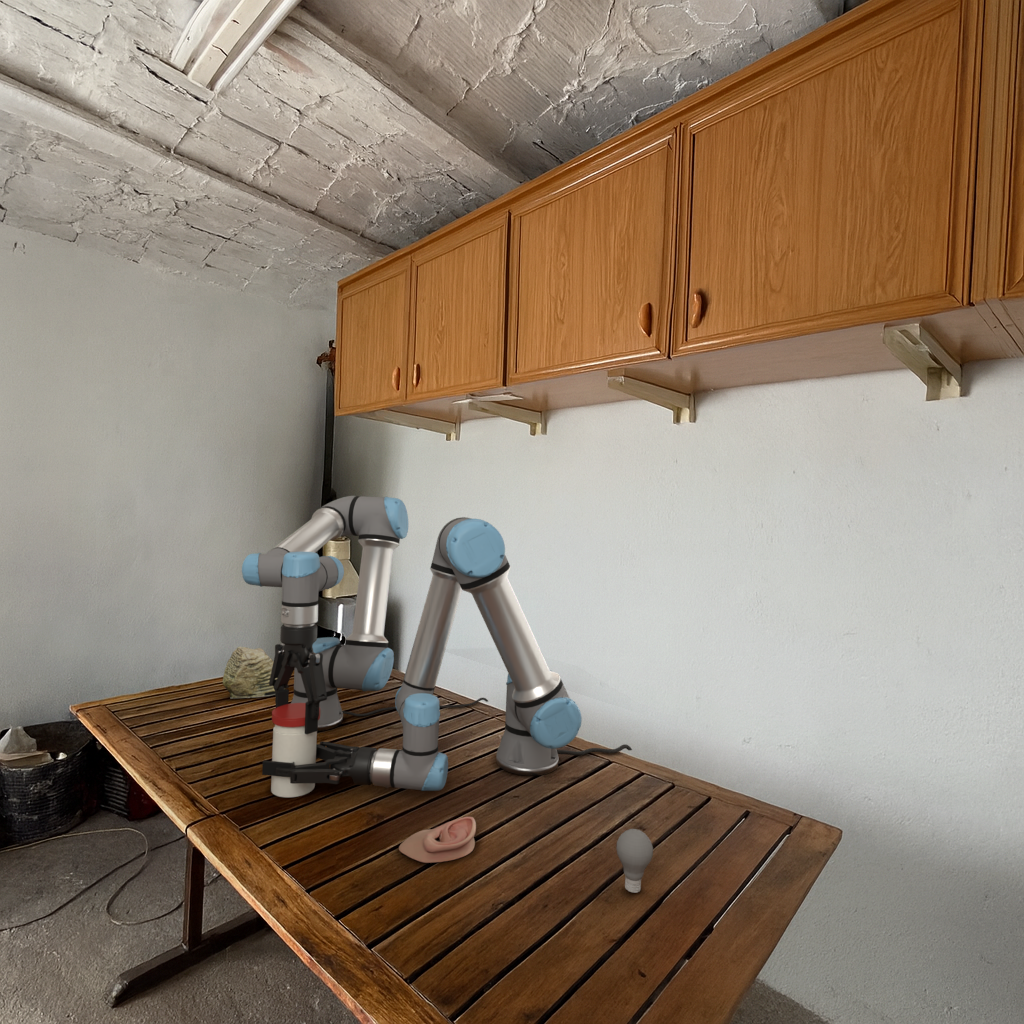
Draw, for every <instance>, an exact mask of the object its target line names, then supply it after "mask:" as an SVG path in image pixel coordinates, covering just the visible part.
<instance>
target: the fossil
mask: <svg viewBox="0 0 1024 1024" xmlns="http://www.w3.org/2000/svg"><path fill="white" fill-rule="evenodd" d="M273 662H274V659H272V658H271V657H270V656H269V655H268V654H267V653H266V652H265V650H264V649H263V648H260V647H258V648H251V647H247V646H246V647H245V646H238V647H237V648H236V649H235V650H233V651H232V653H231V656H230V657H229V659H228V660H227V663H226V666H225V668H224V671H223V675H222V676H223V677H222V685H223V687H224V688H225V690H226V691H228V693H229V698H230V699H250V698H264V697H271V696H275V693H276V691H275V690H274V687H273V686H270V685H269V681H270V676H271V671H272V667H273ZM276 679H277V678H275V680H276ZM285 689H287V688H285ZM285 689H284V690H285Z"/></svg>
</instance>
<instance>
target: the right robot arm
mask: <svg viewBox="0 0 1024 1024" xmlns="http://www.w3.org/2000/svg"><path fill="white" fill-rule="evenodd" d="M431 560H432V561H431V563H430V568H429V569H430V572H431V573H432V576H431V580H430V584H429V587H428V591H427V594H426V598H425V602H424V606H423V608H422V613H421V616H420V620H419V623H418V627H417V630H416V634H415V637H414V641H413V644H412V648H411V652H410V655H409V658H408V662H407V666H406V669H405V673H404V677H403V680H402V684H401V686H400V687H399V688H398V690H397V691H396V694H395V698H394V700H395V701H394V704H395V707H396V709H395V710H396V712H397V713H398V716H399V719H400V722H401V725H402V748H401V749H395V748H382V747H380V748H378V749H377V748H376V747H367V746H361V747H360V746H353V745H352V746H351V745H345V744H341V743H334V742H330V741H329V742H328V741H324V740H321V741H320V742H319V743H317V744H316V760H319V759H320V760H322V762H316V763H313V764H303V765H295V762H292V763H288V762H276V761H272V760H263V761H262V764H261V765H262V766H261V775H262V776H271V777H272V776H282V777H290V783H292V784H297V783H315V784H332V785H338V784H340V779H342V778H349V777H350V778H351V779H352V782H353V783H354V784H355V785H357V786H358V785H359V786H369V787H370V786H372V785H373V786H374V787H382V788H383V787H384V788H385V789H389V788H395V789H406V790H413V791H414V790H415V791H420V792H439V791H441V790H443V789H444V787H445V786H446V783H447V778H448V773H449V756H448V755H447V754H445V753H443V752H440V751H439V733H440V731H439V730H440V717H441V711H440V708H439V706H440V699H439V697H437V696H436V695H434V693H435V688H436V685H437V681H438V677H439V674H440V670H441V666H442V663H443V660H444V656H445V653H446V649H447V646H448V642H449V639H450V634H451V631H452V628H453V624H454V621H455V617H456V613H457V610H458V607H459V603H460V599H461V596H462V592H463V591H464V592H466V593H469V594H471V595H472V598H473V599H474V603H475V604H476V606H477V609H478V610H479V613H480V615H481V617H482V619H483V621H484V623H485V627H486V628H487V630H488V632H489V634H490V636H491V638H492V641H493V643H494V645H495V647H496V650H497V652H498V655H499V656H500V658H501V661H502V663H503V664H504V665H503V666H504V667H505V669H506V671H507V677H506V679H507V680H506V683H505V685H506V692H505V693H506V695H505V700H506V701H505V722H504V732H503V734H502V736H501V739H500V743H499V745H498V748H497V751H496V754H495V755H496V758H495V763H496V765H497V767H498V768H500V769H502V770H504V771H505V772H508V773H511V774H513V775H519V776H531V777H532V776H533V777H534V776H535V777H536V776H543V775H547V774H550V773H553V772H554V771H556V770H557V768H558V767H559V755H569V756H576V757H578V756H584V755H587V754H591V753H603V754H617V753H619V752H621V751H623V750H624V749H626V750H627V751H633V749H632V748H631V746H630V745H629V744H625V743H624V744H621V745H620V746H618V747H616V748H612V749H611V748H602V747H591V748H587V749H583V750H579V751H576V750H567V749H561V748H563V747H565V746H567V745H569V744H570V743H571V742H573V741H574V739H576V737H577V736H578V734H579V731H580V729H581V727H582V718H583V717H582V712H581V709H580V708H579V705H578V704H577V703H576V701H575V700H573V699H572V698H571V697H570V696H569V693H568V691H567V688H566V686H565V685H564V682H563V681H562V678H561V676H560V674H559V673H558V672H556V671H553V670H551V669H550V668H549V666H548V664H547V661H546V659H545V657H544V655H543V653H542V650H541V648H540V646H539V643H538V641H537V639H536V636H535V635H534V633H533V630H532V627H531V626H530V624H529V621H528V619H527V616H526V615H525V612H524V611H523V608H522V606H521V604H520V602H519V599H518V597H517V595H516V593H515V591H514V589H513V586H512V584H511V582H510V580H509V577H508V576H509V574H510V571H511V565H510V563H509V560H508V558H507V555H506V544H505V541H504V538H503V536H502V534H501V533H500V531H499V530H498V529H497V528H496V527H495V526H493V524H491V523H490V522H488V521H486V520H484V519H480V518H471V517H465V516H462V517H456V518H453V519H451V520H449V521H448V522H447V523H445V525H444V526H443V527H442V528H441V530H440V531H439V533H438V536H437V539H436V543H435V547H434V552H433V557H432V559H431ZM323 761H324V762H323Z"/></svg>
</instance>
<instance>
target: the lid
mask: <svg viewBox="0 0 1024 1024" xmlns="http://www.w3.org/2000/svg"><path fill="white" fill-rule="evenodd" d="M305 704H306V703H292V704H291V703H288V704H286V705H282V706H279V707H277V708H276V707H275V708H274V709H272V711H271V722H272V723H273V724H274V726H275V725H278V726H282V727H300V726H305ZM319 719H320V707H319V717H318V720H319Z"/></svg>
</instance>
